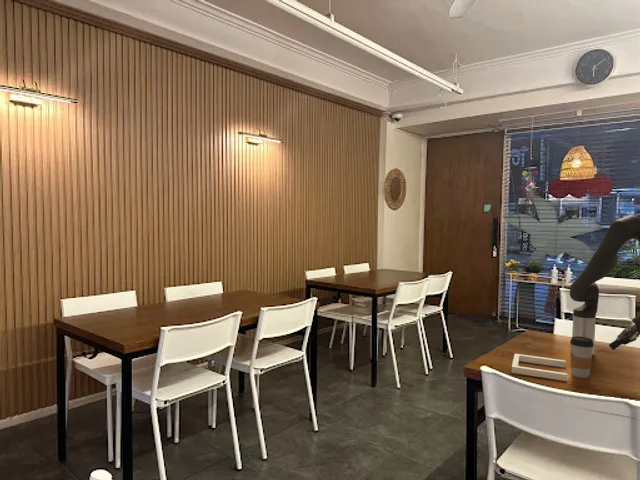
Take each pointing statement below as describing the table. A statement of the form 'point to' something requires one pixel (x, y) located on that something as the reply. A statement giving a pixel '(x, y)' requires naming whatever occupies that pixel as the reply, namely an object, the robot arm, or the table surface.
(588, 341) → the coffee cup
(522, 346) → the table surface
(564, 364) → the frame
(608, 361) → the table surface
